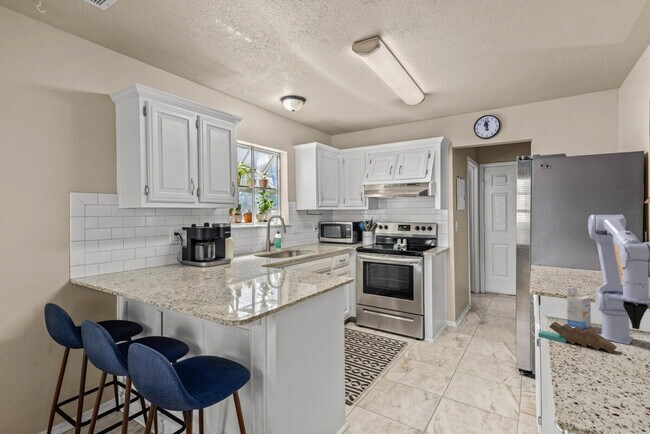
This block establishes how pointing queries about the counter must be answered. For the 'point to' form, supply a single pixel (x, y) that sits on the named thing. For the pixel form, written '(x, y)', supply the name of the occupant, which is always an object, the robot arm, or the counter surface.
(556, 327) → the domino
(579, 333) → the domino
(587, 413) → the counter surface
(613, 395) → the counter surface
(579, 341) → the domino
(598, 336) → the domino
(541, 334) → the domino
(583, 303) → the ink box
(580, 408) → the counter surface
